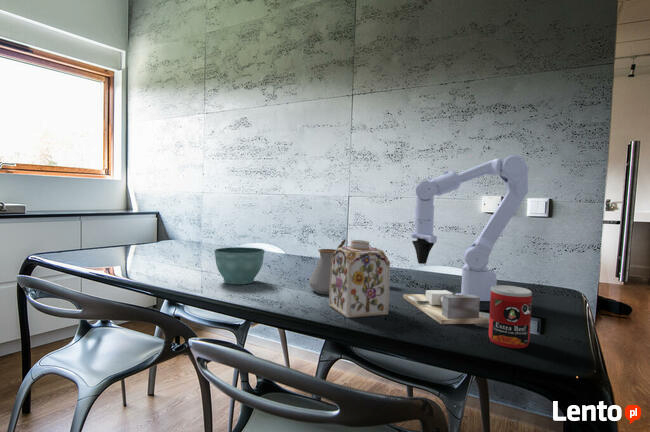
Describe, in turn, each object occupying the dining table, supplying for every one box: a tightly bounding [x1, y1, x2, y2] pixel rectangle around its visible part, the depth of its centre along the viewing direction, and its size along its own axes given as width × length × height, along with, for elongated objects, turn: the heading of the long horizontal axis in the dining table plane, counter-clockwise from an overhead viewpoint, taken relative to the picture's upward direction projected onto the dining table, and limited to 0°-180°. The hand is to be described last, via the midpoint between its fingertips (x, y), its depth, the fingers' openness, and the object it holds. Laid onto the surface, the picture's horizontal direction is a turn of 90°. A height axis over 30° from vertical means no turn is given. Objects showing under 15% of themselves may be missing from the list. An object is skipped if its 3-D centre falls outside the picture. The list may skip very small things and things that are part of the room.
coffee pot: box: [308, 239, 349, 295], centre depth 124 cm, size 21×12×15 cm, turn 158°
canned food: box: [488, 284, 533, 349], centre depth 80 cm, size 8×8×11 cm
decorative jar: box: [328, 239, 391, 319], centre depth 99 cm, size 12×12×18 cm
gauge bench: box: [402, 293, 489, 325], centre depth 104 cm, size 12×25×6 cm, turn 9°
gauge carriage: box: [417, 289, 454, 305], centre depth 102 cm, size 9×10×3 cm
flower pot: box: [213, 246, 266, 286], centre depth 128 cm, size 16×16×11 cm
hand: (422, 263), depth 121 cm, fingers closed
